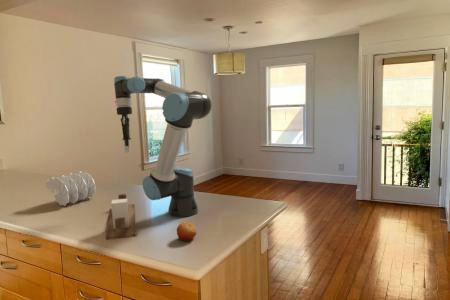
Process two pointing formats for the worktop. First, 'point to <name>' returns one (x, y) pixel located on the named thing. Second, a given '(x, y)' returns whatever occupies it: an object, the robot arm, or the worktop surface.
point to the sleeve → (120, 211)
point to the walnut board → (122, 224)
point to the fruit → (186, 231)
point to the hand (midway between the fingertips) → (127, 152)
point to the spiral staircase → (72, 187)
